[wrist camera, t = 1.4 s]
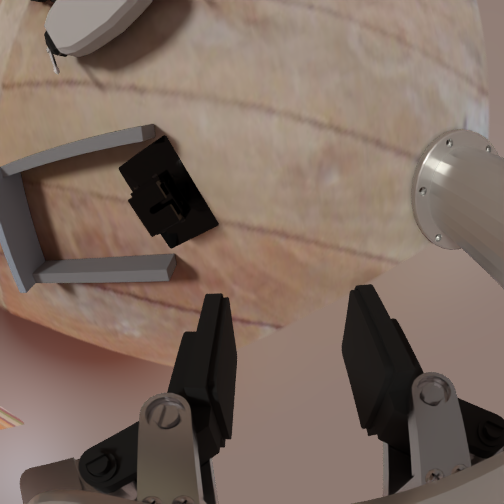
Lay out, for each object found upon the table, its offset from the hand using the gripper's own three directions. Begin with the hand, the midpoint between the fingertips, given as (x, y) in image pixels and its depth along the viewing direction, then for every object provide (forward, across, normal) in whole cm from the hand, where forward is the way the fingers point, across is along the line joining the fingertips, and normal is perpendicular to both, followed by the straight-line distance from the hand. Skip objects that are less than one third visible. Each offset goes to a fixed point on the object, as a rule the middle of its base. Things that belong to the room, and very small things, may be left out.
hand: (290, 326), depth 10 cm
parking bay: (+17, +18, 0) cm, 25 cm away
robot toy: (+18, +14, -22) cm, 32 cm away
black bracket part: (+18, +9, 0) cm, 20 cm away
